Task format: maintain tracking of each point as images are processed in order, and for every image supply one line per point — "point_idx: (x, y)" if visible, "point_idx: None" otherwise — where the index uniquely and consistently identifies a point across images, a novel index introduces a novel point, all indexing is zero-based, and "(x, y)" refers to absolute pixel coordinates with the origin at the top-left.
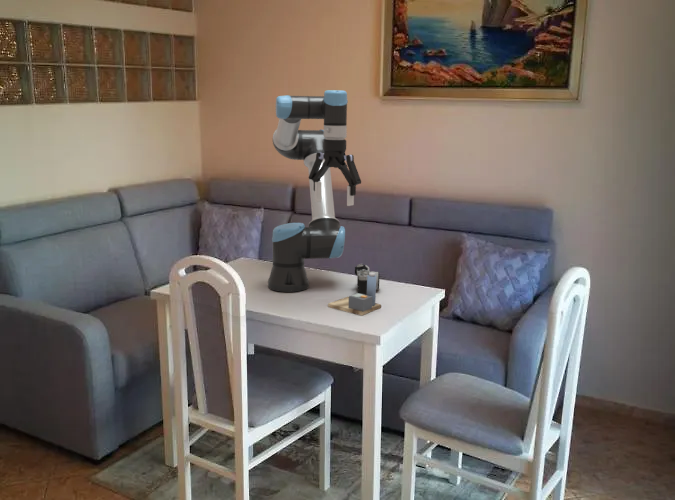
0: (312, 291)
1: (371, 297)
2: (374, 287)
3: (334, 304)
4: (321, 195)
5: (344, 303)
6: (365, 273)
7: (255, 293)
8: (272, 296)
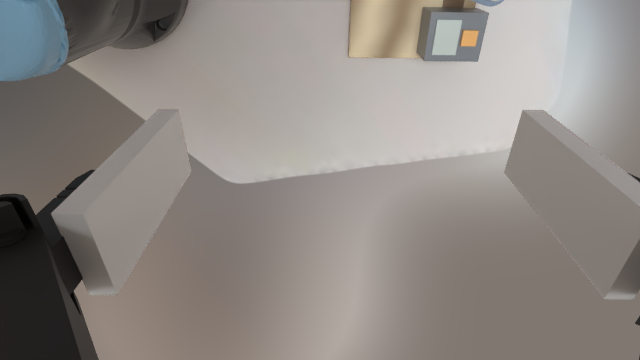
0: None
1: (486, 17)
2: None
3: (367, 52)
4: (160, 130)
5: (385, 25)
6: None
7: (120, 88)
8: (172, 79)
